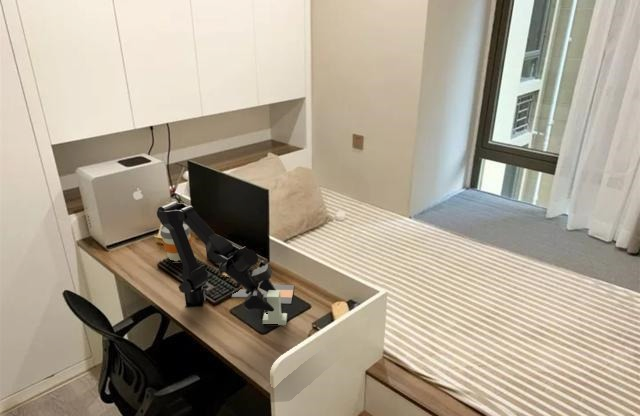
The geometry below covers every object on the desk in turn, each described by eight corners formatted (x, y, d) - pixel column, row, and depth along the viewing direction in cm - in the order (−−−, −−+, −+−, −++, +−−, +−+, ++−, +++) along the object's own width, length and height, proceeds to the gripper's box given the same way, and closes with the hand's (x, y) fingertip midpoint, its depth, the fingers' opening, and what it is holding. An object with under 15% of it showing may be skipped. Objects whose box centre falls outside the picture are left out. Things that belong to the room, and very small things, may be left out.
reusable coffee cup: (158, 259, 197) (153, 228, 191) (181, 248, 206) (177, 218, 200) (177, 267, 190) (172, 236, 184) (200, 255, 200) (196, 225, 194)
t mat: (229, 302, 166) (229, 301, 166) (236, 285, 177) (236, 284, 177) (291, 304, 165) (290, 303, 165) (294, 286, 176) (294, 285, 176)
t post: (262, 324, 155) (260, 296, 150) (264, 317, 158) (262, 290, 154) (285, 325, 154) (284, 297, 150) (287, 317, 158) (285, 290, 153)
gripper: (251, 274, 138) (288, 305, 142) (261, 246, 155) (294, 273, 159) (228, 295, 142) (265, 324, 145) (240, 265, 159) (273, 292, 163)
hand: (275, 302), depth 153 cm, fingers open, 9 cm apart
